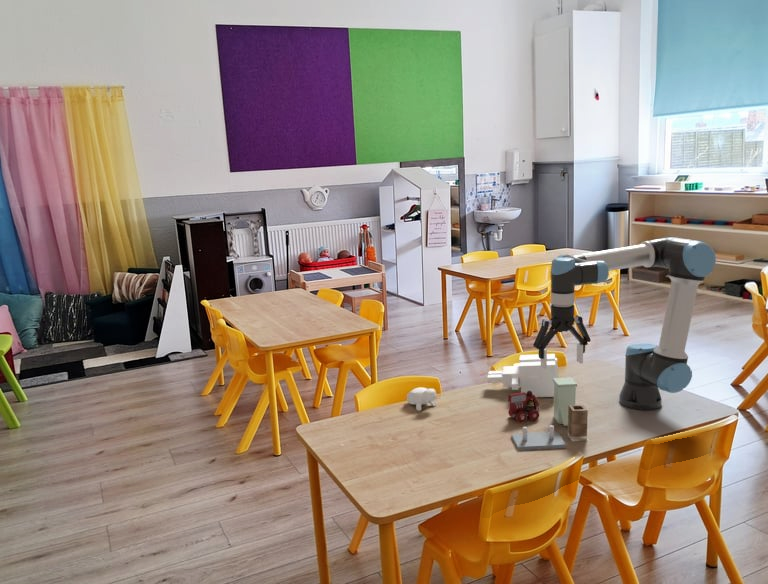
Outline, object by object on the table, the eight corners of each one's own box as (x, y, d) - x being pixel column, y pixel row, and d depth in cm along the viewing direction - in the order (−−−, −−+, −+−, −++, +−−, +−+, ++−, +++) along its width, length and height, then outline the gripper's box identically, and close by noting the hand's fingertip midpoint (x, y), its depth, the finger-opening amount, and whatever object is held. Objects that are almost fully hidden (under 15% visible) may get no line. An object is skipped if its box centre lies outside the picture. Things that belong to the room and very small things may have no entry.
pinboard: (557, 434, 225) (557, 419, 224) (565, 447, 215) (566, 432, 214) (511, 437, 225) (511, 422, 223) (518, 450, 215) (518, 434, 214)
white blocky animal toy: (407, 412, 257) (427, 410, 245) (401, 391, 258) (421, 388, 245) (424, 407, 262) (445, 404, 249) (419, 386, 263) (439, 383, 250)
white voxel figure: (491, 383, 281) (558, 381, 274) (487, 405, 258) (560, 403, 251) (488, 350, 278) (556, 347, 271) (484, 370, 255) (557, 367, 248)
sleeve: (582, 434, 225) (582, 404, 222) (586, 440, 220) (587, 410, 217) (567, 434, 225) (568, 405, 222) (572, 441, 220) (572, 410, 217)
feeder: (570, 415, 240) (571, 377, 237) (580, 429, 229) (581, 389, 225) (552, 416, 240) (552, 378, 237) (561, 430, 228) (562, 390, 225)
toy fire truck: (543, 419, 238) (544, 392, 236) (514, 425, 234) (514, 398, 232) (533, 412, 245) (533, 386, 242) (504, 417, 241) (504, 391, 239)
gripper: (589, 298, 222) (588, 356, 227) (523, 305, 216) (523, 366, 221) (602, 302, 215) (600, 363, 220) (533, 310, 209) (533, 373, 214)
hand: (561, 364), depth 220 cm, fingers open, 13 cm apart
